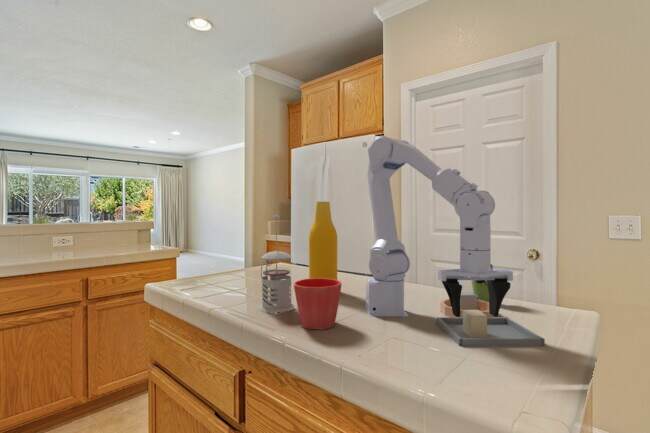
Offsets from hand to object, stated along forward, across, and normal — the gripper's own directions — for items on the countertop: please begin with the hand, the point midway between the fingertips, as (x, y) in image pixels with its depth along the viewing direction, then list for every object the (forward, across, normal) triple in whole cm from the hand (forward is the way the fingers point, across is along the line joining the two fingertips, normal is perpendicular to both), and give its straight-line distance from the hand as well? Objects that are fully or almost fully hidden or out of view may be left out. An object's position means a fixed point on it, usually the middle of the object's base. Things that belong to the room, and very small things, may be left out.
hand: (475, 315), depth 69 cm
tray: (+4, +2, +1) cm, 5 cm away
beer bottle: (+4, -32, +39) cm, 50 cm away
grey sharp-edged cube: (+4, +5, +16) cm, 17 cm away
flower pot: (+4, -33, +8) cm, 34 cm away
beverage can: (+5, +13, +25) cm, 29 cm away
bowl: (+4, +4, +14) cm, 15 cm away
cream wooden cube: (+4, 0, 0) cm, 4 cm away
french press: (+4, -45, +22) cm, 50 cm away
